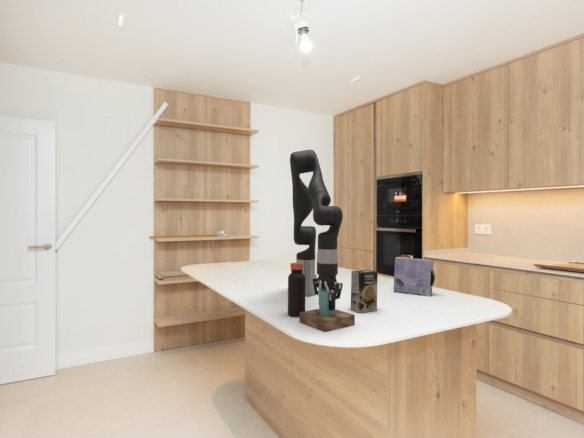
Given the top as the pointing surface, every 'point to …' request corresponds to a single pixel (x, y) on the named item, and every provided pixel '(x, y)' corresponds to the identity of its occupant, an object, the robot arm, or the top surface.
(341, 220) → the robot arm
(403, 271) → the cake pan box
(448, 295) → the top surface
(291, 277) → the bottle
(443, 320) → the top surface
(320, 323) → the socket block
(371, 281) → the coffee box
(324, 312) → the peg
